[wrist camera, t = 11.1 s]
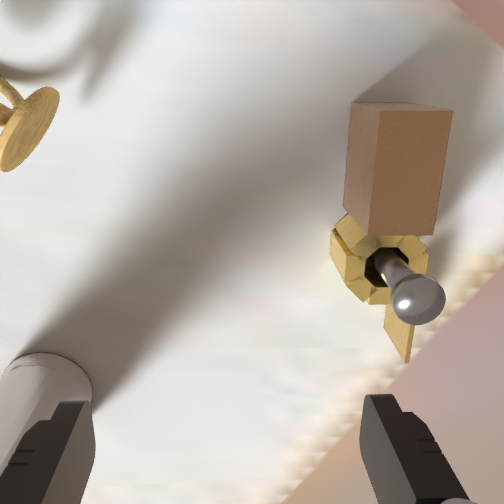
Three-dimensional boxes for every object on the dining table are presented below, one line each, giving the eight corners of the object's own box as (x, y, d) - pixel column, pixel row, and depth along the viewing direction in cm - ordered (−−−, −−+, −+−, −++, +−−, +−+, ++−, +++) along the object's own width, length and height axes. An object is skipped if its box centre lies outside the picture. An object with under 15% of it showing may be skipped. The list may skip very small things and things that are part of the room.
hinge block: (390, 324, 46) (421, 372, 39) (324, 325, 46) (342, 374, 39) (420, 103, 38) (465, 110, 31) (340, 102, 38) (367, 110, 31)
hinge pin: (392, 223, 42) (449, 279, 31) (387, 259, 44) (441, 324, 33) (353, 224, 42) (397, 279, 31) (350, 259, 44) (391, 325, 32)
